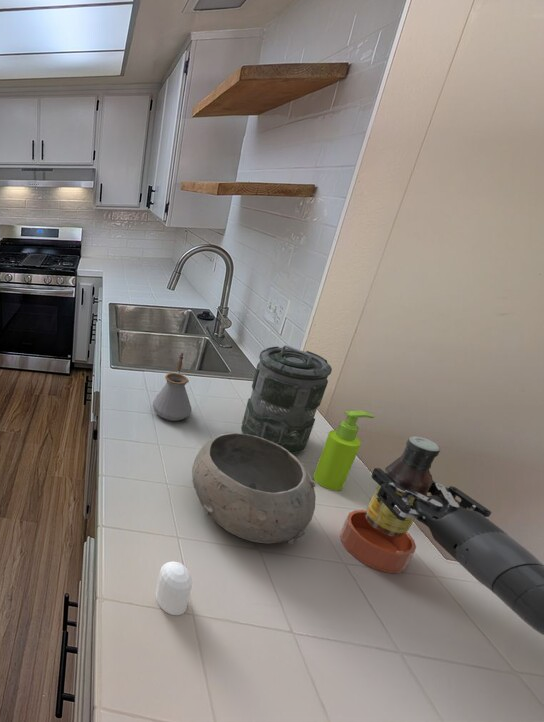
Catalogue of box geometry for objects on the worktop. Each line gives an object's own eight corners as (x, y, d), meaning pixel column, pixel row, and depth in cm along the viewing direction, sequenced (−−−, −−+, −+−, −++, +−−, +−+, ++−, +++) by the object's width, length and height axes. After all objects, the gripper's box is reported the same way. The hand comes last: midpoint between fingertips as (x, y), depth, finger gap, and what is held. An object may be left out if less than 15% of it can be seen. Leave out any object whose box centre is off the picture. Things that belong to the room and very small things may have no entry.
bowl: (169, 477, 95) (178, 427, 89) (257, 471, 97) (271, 422, 91) (220, 564, 74) (236, 506, 68) (330, 554, 75) (355, 497, 70)
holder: (400, 542, 78) (409, 524, 76) (411, 583, 70) (422, 564, 68) (338, 519, 83) (345, 502, 81) (341, 555, 75) (350, 537, 73)
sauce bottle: (365, 507, 78) (401, 426, 71) (406, 526, 74) (449, 441, 66) (360, 526, 74) (398, 441, 66) (404, 546, 70) (449, 458, 62)
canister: (317, 447, 105) (350, 355, 94) (281, 465, 99) (311, 368, 88) (263, 417, 118) (286, 333, 107) (228, 431, 112) (249, 343, 101)
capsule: (151, 585, 70) (156, 555, 67) (179, 583, 70) (186, 553, 67) (162, 616, 65) (168, 585, 62) (192, 614, 65) (200, 582, 62)
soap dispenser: (353, 490, 91) (383, 420, 83) (323, 490, 91) (351, 420, 83) (335, 473, 96) (362, 405, 88) (307, 472, 96) (332, 405, 88)
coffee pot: (188, 428, 113) (196, 384, 107) (148, 419, 118) (154, 376, 112) (193, 394, 131) (201, 354, 125) (159, 387, 135) (164, 348, 130)
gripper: (551, 536, 55) (442, 457, 70) (446, 531, 55) (360, 454, 71) (526, 572, 58) (426, 489, 73) (425, 567, 58) (347, 486, 74)
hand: (394, 472), depth 72 cm, fingers closed on sauce bottle, 6 cm apart
